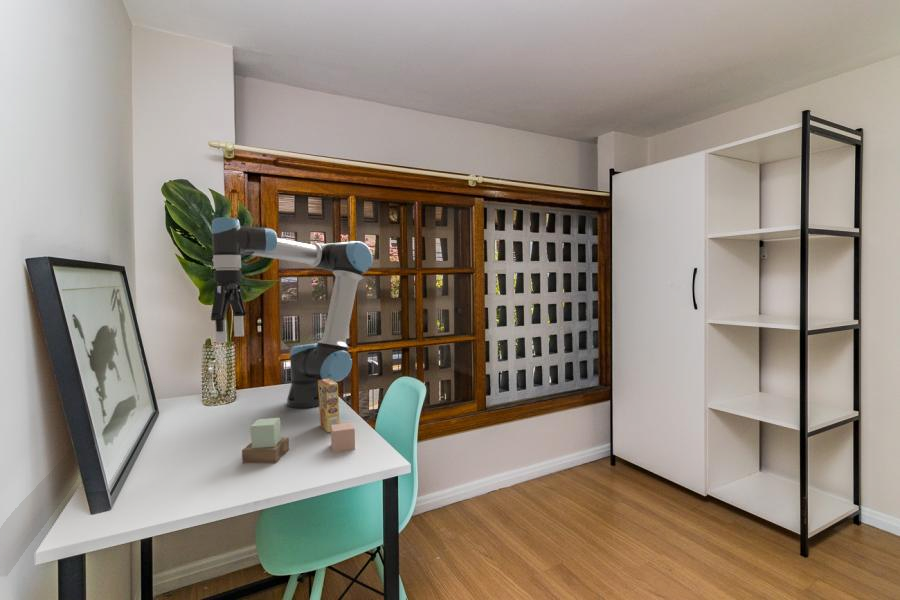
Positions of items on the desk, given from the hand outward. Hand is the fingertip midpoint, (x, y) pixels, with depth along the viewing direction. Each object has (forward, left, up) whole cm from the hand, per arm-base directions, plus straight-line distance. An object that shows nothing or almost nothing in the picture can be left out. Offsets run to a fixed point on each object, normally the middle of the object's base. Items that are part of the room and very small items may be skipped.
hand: (230, 339), depth 136 cm
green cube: (+16, +15, -27) cm, 35 cm away
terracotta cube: (+12, +35, -31) cm, 48 cm away
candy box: (-5, +28, -31) cm, 42 cm away
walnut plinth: (+16, +14, -31) cm, 38 cm away
